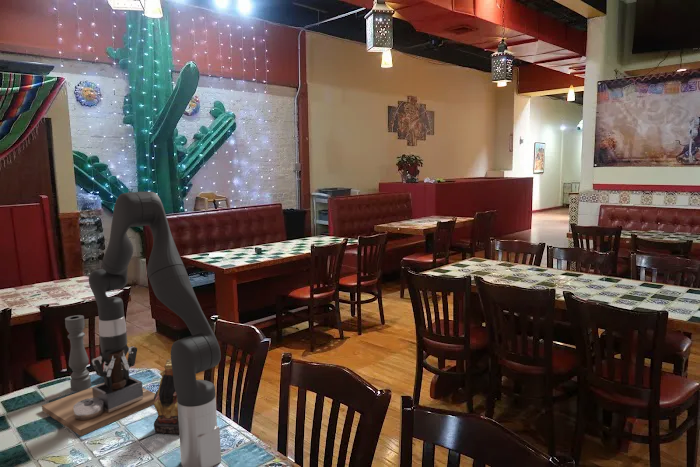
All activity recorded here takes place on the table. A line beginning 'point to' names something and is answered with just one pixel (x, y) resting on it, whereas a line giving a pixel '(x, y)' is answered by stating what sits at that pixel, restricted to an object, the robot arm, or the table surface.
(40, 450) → the table surface
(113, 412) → the wooden cutting board
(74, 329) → the candle holder
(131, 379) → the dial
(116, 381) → the bolt
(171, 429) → the statue
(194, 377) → the robot arm
